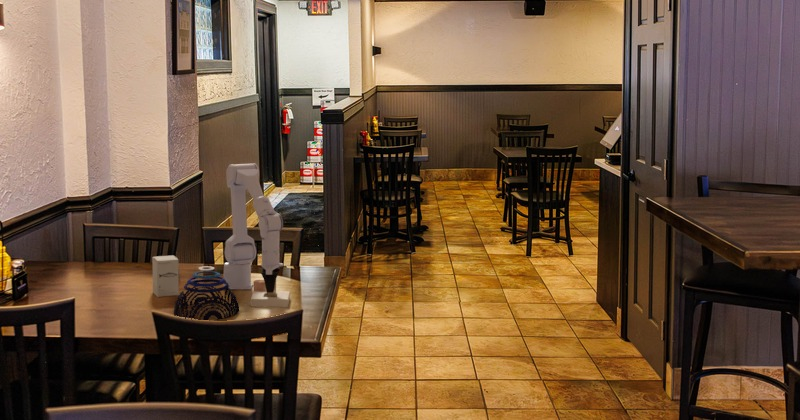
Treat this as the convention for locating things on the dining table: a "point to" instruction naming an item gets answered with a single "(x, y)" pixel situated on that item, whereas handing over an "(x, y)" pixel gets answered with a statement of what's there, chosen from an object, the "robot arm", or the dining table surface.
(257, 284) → the terracotta peg
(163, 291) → the supplement box
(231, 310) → the decorative bowl
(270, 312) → the dining table surface
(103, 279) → the dining table surface
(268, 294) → the beech pin
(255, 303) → the hole plate
